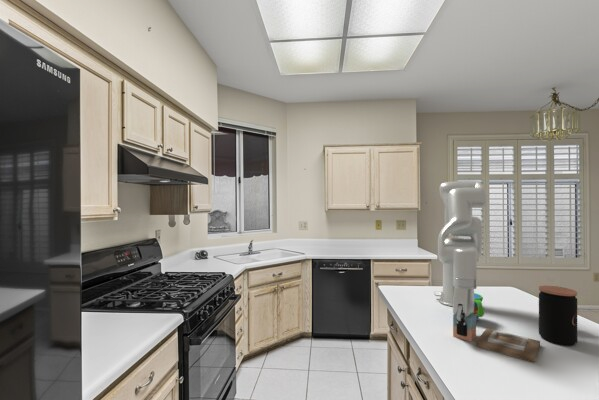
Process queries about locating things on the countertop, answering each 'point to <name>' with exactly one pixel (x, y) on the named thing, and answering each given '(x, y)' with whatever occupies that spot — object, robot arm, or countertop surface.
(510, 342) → the walnut board
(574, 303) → the coffee jar
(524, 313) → the countertop surface
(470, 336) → the teal and orange block
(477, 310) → the snack cup
